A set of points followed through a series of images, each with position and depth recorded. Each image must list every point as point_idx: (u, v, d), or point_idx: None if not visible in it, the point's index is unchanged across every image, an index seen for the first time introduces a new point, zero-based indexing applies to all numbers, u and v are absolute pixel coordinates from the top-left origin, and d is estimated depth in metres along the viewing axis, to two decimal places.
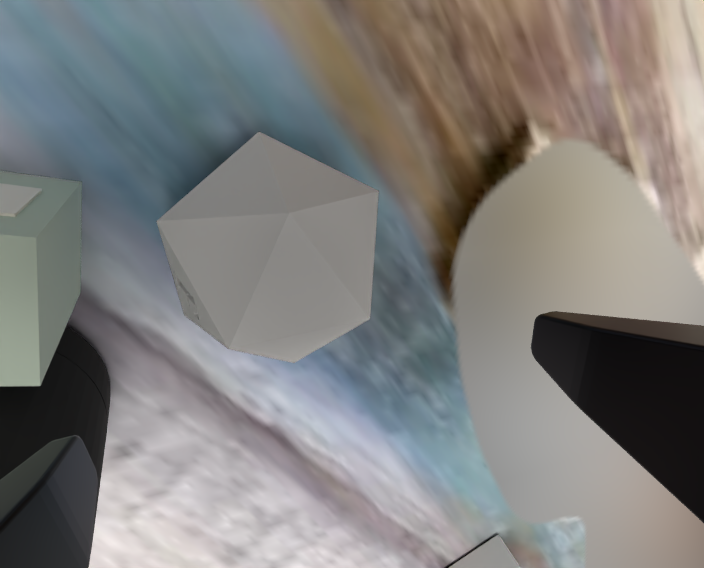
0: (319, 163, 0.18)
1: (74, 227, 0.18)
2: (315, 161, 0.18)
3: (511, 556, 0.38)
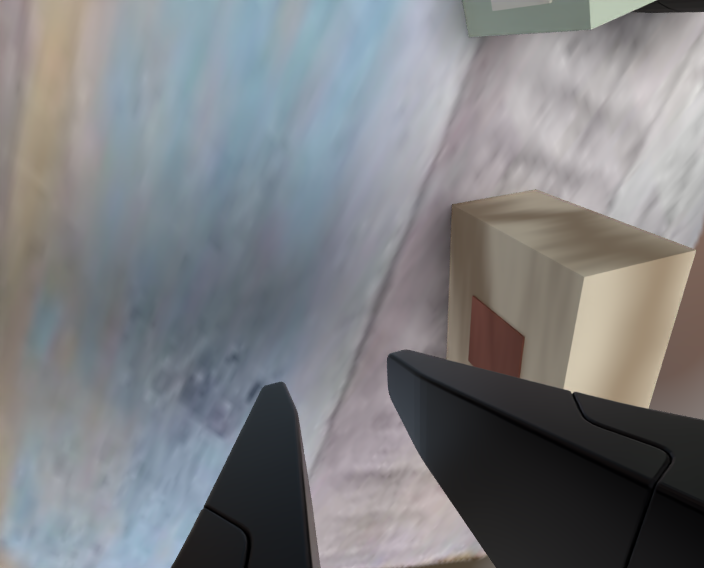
0: None
1: None
2: None
3: None
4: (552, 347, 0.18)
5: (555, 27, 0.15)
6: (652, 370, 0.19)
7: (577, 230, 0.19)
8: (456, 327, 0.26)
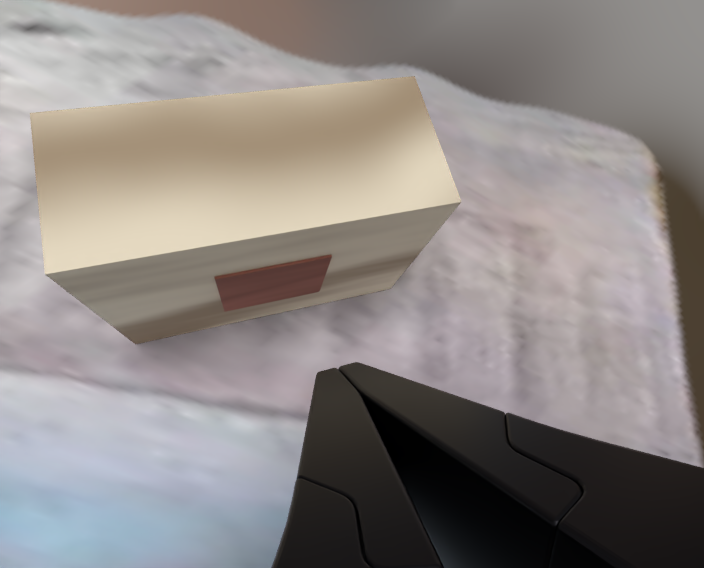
0: None
1: None
2: None
3: None
4: (190, 261, 0.14)
5: None
6: (224, 105, 0.14)
7: None
8: (289, 305, 0.21)
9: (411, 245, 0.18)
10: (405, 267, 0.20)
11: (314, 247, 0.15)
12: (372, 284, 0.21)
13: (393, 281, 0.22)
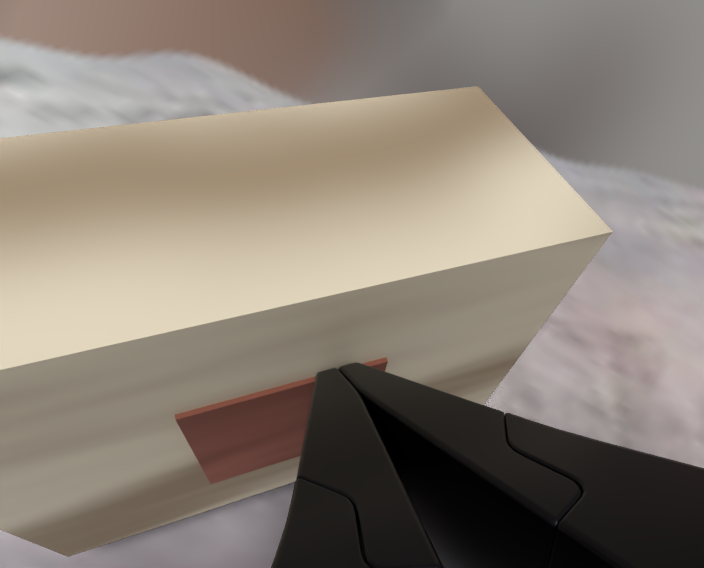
0: None
1: None
2: None
3: None
4: (113, 381, 0.07)
5: None
6: (195, 129, 0.09)
7: None
8: None
9: (514, 336, 0.11)
10: (497, 381, 0.13)
11: (356, 342, 0.08)
12: None
13: None
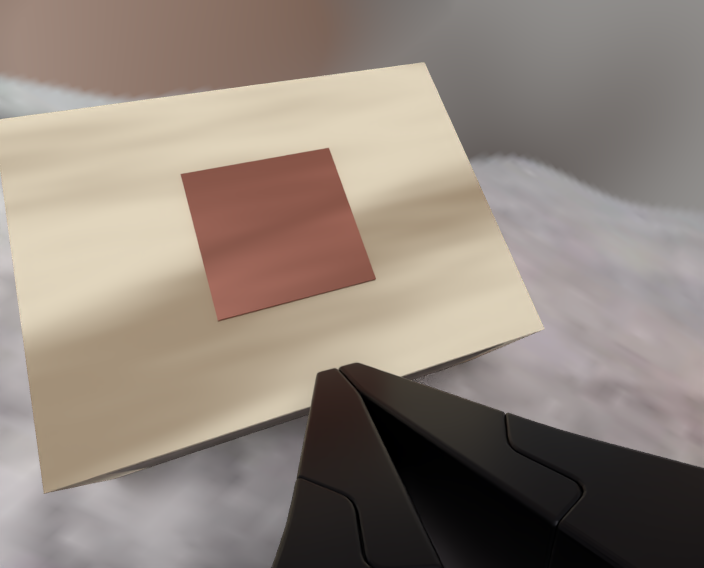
0: None
1: None
2: None
3: None
4: (147, 128, 0.12)
5: None
6: None
7: None
8: (349, 348, 0.11)
9: (440, 150, 0.14)
10: (492, 224, 0.13)
11: (294, 126, 0.13)
12: (479, 290, 0.12)
13: (519, 286, 0.13)
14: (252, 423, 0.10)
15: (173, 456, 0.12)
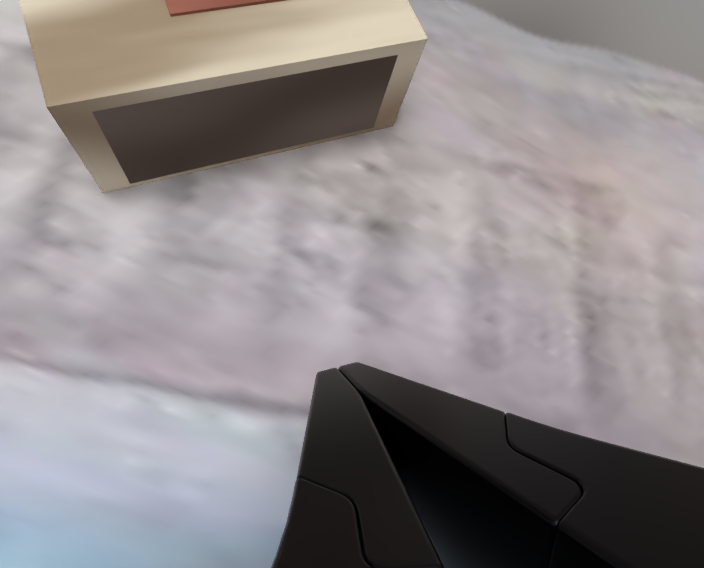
0: None
1: None
2: None
3: None
4: None
5: None
6: None
7: None
8: (272, 39, 0.15)
9: None
10: None
11: None
12: (376, 11, 0.16)
13: (408, 11, 0.16)
14: (199, 78, 0.14)
15: (145, 145, 0.16)
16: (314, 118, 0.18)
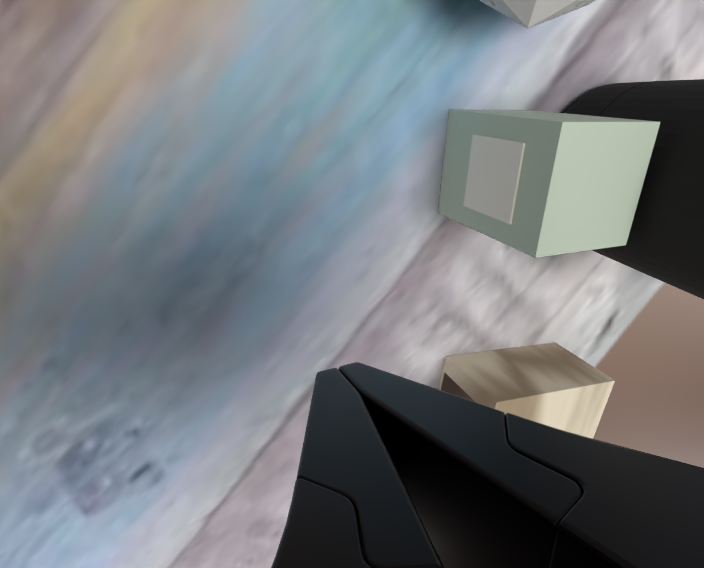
0: None
1: (495, 111, 0.21)
2: None
3: None
4: (586, 430, 0.29)
5: (509, 242, 0.19)
6: None
7: (539, 363, 0.29)
8: None
9: None
10: None
11: None
12: None
13: None
14: None
15: None
16: None
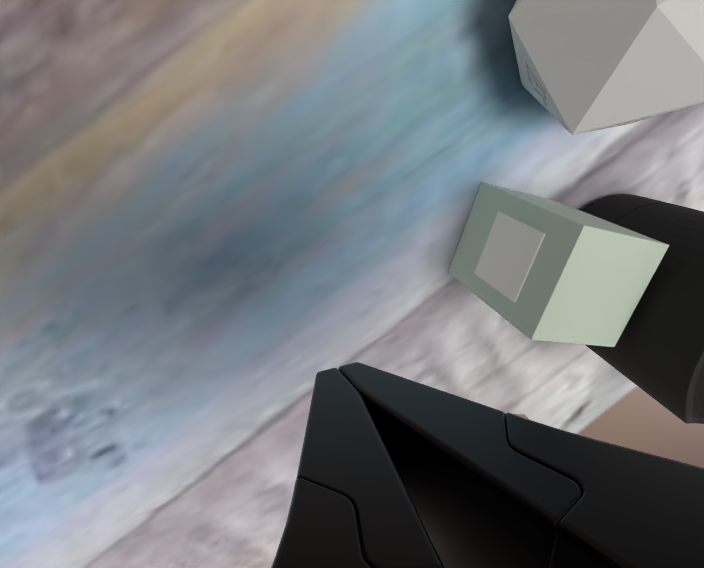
0: None
1: (522, 195, 0.23)
2: None
3: None
4: None
5: (509, 318, 0.20)
6: None
7: None
8: None
9: None
10: None
11: None
12: None
13: None
14: None
15: None
16: None
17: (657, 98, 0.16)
